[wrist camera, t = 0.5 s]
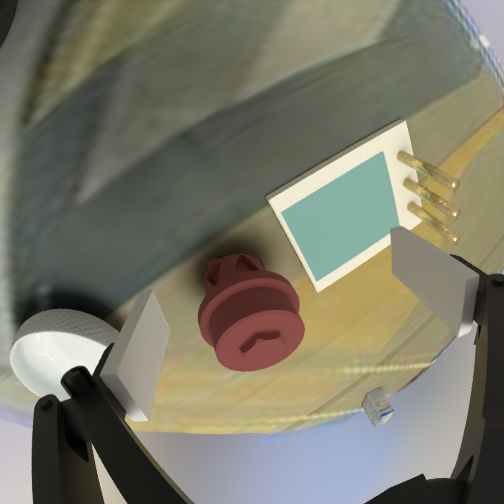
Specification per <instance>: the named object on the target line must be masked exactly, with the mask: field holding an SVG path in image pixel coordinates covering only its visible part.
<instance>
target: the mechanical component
mask: <svg viewBox="0 0 504 504" xmlns="http://www.w3.org/2000/svg"><path fill="white" fill-rule="evenodd" d="M207 266H208V269H209V270H208V271H207V273H206V276H205V280H204V286H205V291H206V294H207V295H206V296H205V298H204V299H203V301H202V303H201V305H200V308H199V311H198V323H199V327H200V331H201V334H202V336H203V338H204V340H205V341H206V342H207V343H208V344H209V345H210V346H212V347H214V349H215V353H216V356H217V359H218V361H219V362H220V363H221V364H222V365H223V366H225V367H226V368H229V369H231V370H235V371H256V370H261V369H264V368H267V367H270V366H273V365H275V364H277V363H279V362H280V361H282V360H284V359H285V358H287V357H288V356H289V355H290V354H291V353H293V352H294V351H295V349H296V348H297V347H298V346H299V344H300V343H301V341H302V339H303V336H304V331H305V328H304V323H303V321H302V319H301V318H300V316H299V314H298V312H299V306H300V304H299V298H298V295H297V293H296V292H295V290H294V288H293V287H292V285H291V284H290V282H289V281H288V280H287V279H286V278H284V277H283V276H281V275H279V274H277V273H274V272H270V271H266V270H265V268H264V266H263V264H262V263H261V262H260V260H258V259H257V258H256V257H254V256H252V255H248V254H242V253H239V254H232V255H228V256H225V257H223V258H217V257H214V258H211V259H210V260H209V261H208V263H207Z"/></svg>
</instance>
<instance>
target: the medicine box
mask: <svg viewBox="0 0 504 504" xmlns="http://www.w3.org/2000/svg"><path fill="white" fill-rule="evenodd" d="M362 406H363V408H364V410H365V412H366V414H367V415H368V417H369V419H370V421H371V423H372V424H373V426H374V427H377V426H380V425H382V424H383V423H385V422H387V421H388V419H389V418H390V416H391V415H392V413H393V412H394V409H393V408H392V406H391V405H390V403H389V401H388V400H387V398H386V397H385V395H384V393H383V392H382V390H381V389H380V388H377V389H375V390H373V391H371V392H369V393H367V395H366V397H365V400H364V402H363V405H362Z"/></svg>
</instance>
